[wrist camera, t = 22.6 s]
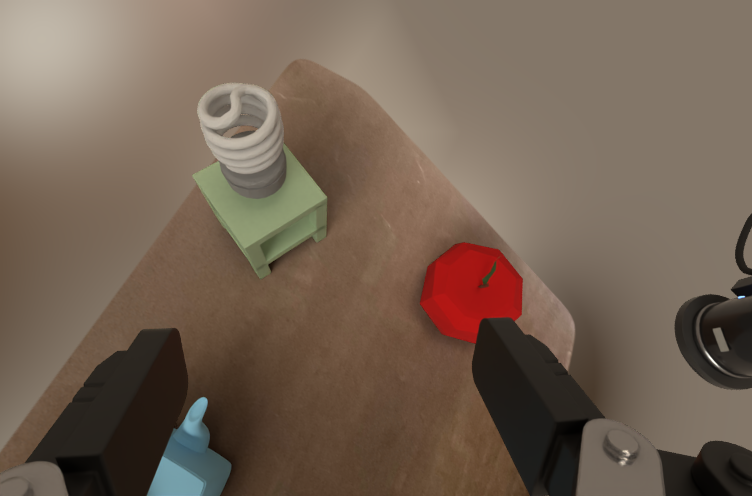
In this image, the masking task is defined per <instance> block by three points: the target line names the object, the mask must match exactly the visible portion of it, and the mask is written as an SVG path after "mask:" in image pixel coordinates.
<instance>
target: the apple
mask: <svg viewBox="0 0 752 496" xmlns="http://www.w3.org/2000/svg"><path fill="white" fill-rule="evenodd" d="M522 283H523V279H522V277H521V276H520V275H519V274H518V272H517V271H516V270H515V269H514V268H513V266H512V265H511V264H510V263H509V261H508V260H507V259H506V258H505V257H504V255H503V254H502V253H501V252H500V250H498V249H493V248H489V247H484V246H479V245H474V244H470V243H465V242H463V243H459V244H455V245H454V246H453V247H451V248H450V249H449V250H448V251H446V252H445V253H444V254H443V255H441V256H440V257H439V258H438V259H436V260H435V261H434V262H433V263H432V264H430V265H429V266H428V268H427V273H426V277H425V282H424V287H423V291H422V296H421V301H420V305H421V306H422V308H423V309H424V310H425V312H426V313H427V314H428V316H429V317H430V319H431V320H432V321H433V323H434V324H435V325H436V327H437V328H438V329H439V331H440V332H441V334H443V335H447V336H450V337H454V338H457V339H461V340H464V341H468V342H472V343H475V344H476V339H477V334H478V329H479V324H480V321H481V320H482V319H483V318H500V317H510V318H512V319H513V320H514V321H515V320H516V319H518V318H519V317H520V316H521V315H522Z"/></svg>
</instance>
